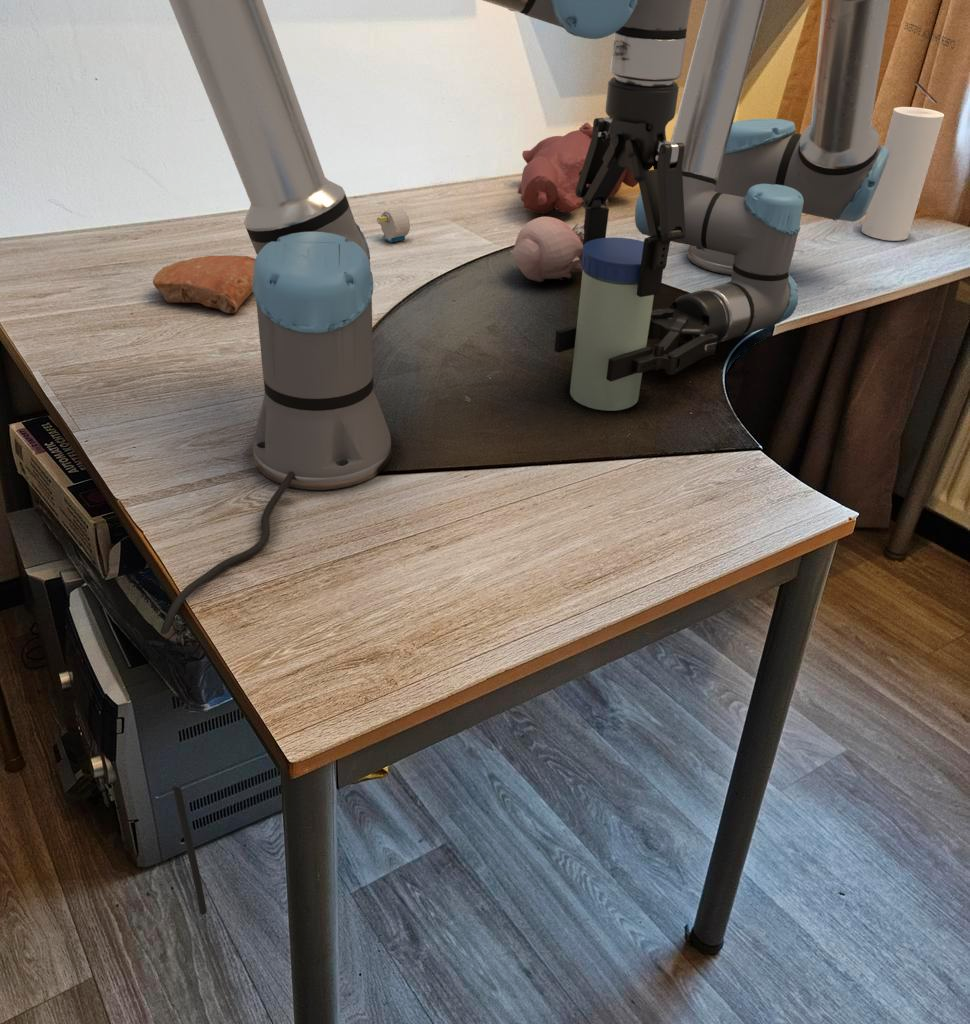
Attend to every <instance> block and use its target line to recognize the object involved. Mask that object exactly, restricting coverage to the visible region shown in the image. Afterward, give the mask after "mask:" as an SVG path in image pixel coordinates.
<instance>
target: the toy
mask: <svg viewBox="0 0 970 1024" xmlns="http://www.w3.org/2000/svg"><path fill="white" fill-rule="evenodd" d="M583 241H584V223H582V222H578V223H577V224H576V225H575V226H574V227H573V228H571V227H570V226H569V225H568V224H567V223H566V222H564V221H563V220H561V219H558V218H556V217H552V216H540V217H537V218H534V219H532V220H530V221H528V222H527V223H525V225H524V226H523V227H522V228H521V229H520V231H519V233H518V235H517V237H516V239H515V243H514V248H513V249H510V250H509V251H510V254H511V256H512V258H513V259H514V261H515V263H516V264H517V267H518V268H519V270H520V272H521V273H522V274H523V275H524V277H525V278H527V279H528V280H530V281H535V282H536V283H542V282H544V281H545V280H561V281H563V278H567V279H568V280H569V279H571V278H572V274H571V273H570V272H571V271H572V270H574V269H577V270H578V271H583V269H582V267H581V266H580V265H581V255H582V249H583Z"/></svg>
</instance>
